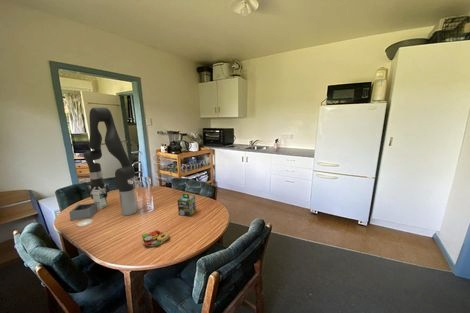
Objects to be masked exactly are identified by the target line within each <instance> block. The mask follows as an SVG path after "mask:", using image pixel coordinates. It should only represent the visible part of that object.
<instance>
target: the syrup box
mask: <svg viewBox="0 0 470 313" xmlns="http://www.w3.org/2000/svg"><path fill="white" fill-rule="evenodd" d="M103 189H105V190H106V187H104V188H103ZM92 190H93V189H92ZM91 192H92V191H91ZM92 195H93V199H92V200H93V203H95V202H96V203H97V209H98V210H102V209H103V208H105V207H108V201H107V197H106V198H105V196H104V192H102V191H101V190H100V189H97V190H93V192H92Z"/></svg>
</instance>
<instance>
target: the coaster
mask: <svg viewBox="0 0 470 313" xmlns="http://www.w3.org/2000/svg"><path fill="white" fill-rule="evenodd" d="M93 222H94V221H93V219H92V218H88V219H81V221H79V222H77V223H76V227H80V228H81V227H86V226H88V225H91V224H92V223H93Z"/></svg>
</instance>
